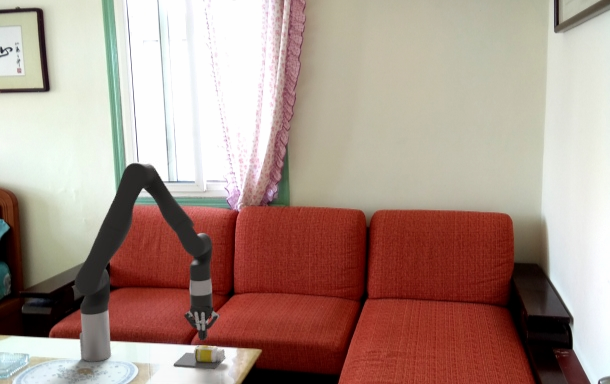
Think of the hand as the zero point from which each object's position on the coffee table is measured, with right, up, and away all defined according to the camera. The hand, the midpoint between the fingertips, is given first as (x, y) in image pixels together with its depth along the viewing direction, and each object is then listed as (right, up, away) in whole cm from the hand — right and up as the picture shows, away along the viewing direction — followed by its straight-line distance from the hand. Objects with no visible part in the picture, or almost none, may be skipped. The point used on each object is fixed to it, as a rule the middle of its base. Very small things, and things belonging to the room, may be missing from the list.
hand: (202, 339), depth 189 cm
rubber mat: (-1, -8, +1) cm, 8 cm away
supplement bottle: (-3, -5, 0) cm, 6 cm away
